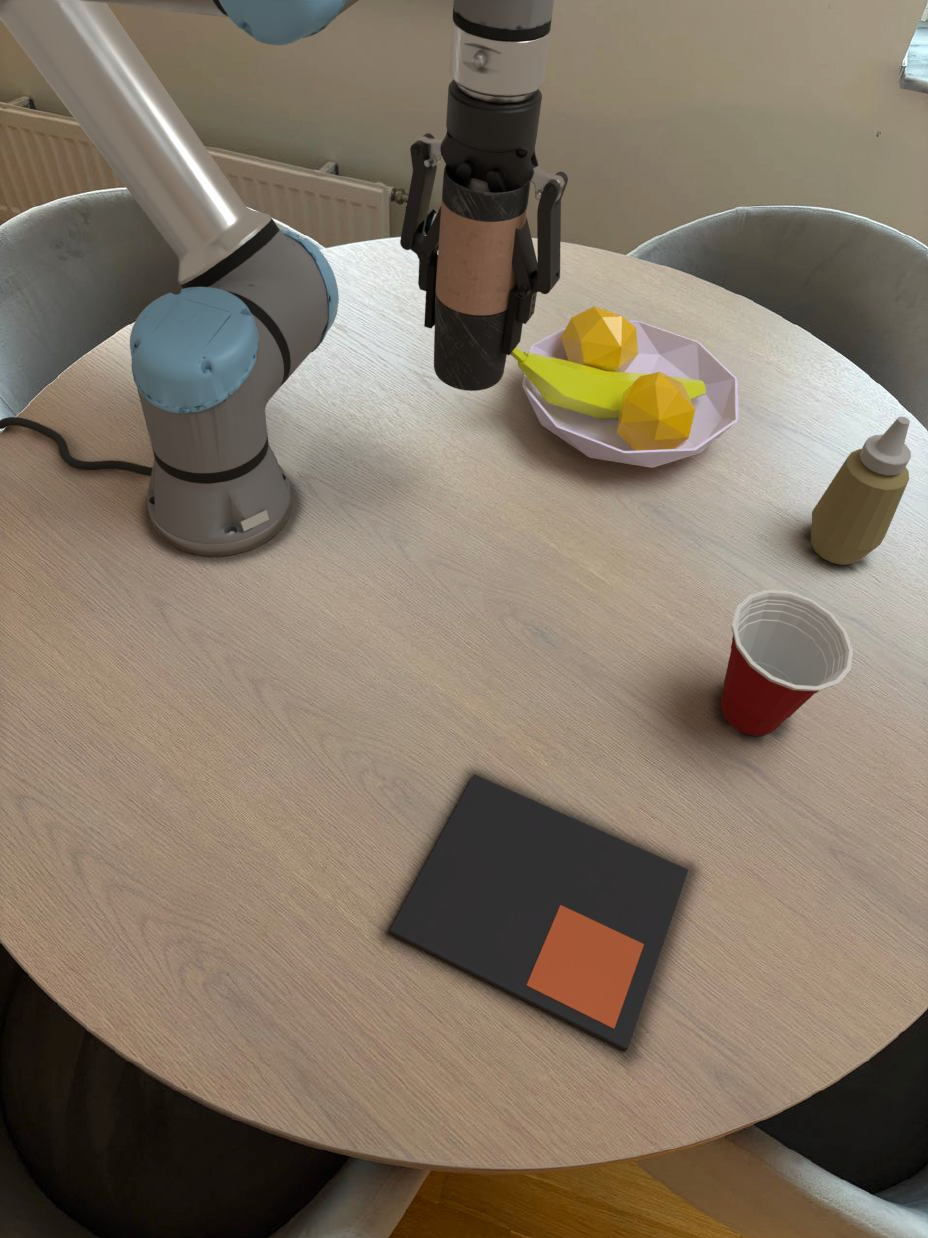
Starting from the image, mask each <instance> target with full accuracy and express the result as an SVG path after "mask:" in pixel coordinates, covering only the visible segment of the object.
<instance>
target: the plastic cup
mask: <svg viewBox="0 0 928 1238" xmlns="http://www.w3.org/2000/svg"><path fill="white" fill-rule="evenodd" d="M731 632H732V639H731V645H730V653H729V658H728V663H727V666H726V672H725V676H724V681H723V690H722V695H721V699H720V707H721V711H722V714H723V717H724V718H725V720H726V722H727V723H728V724H729V725H730V726H731V727H733V728H734V729H736V730H737V731H739V732H741V733H743V734H746V735H749V736H765V735H768V734H770V733H773V732H774V731H776V730H777V729H778V728H779V727H780V726H781V725H782V724H783V723H784V722H785V721H786V720H788V719H789V718H791V717H792V716H793V714H795V713H796V712H797V711H798V710H799V709H801V707H802V706H803V705H804V704H805V703H806V702H808V701H809V699H811V698H812V697H813V696H814V695H815V694H818V693H819V692H820V691H822V690H825V689H827V688H830V687H834V686H836V685H838V684H839V683H840V682H841V681H842V680H843V679H844V678H845V677H846V676H847V674H848V673H849V672H850V671H851V669H852V663H853V655H854V649H853V646H852V644H851V641H850V638H849V634H848V632H847V630H846V629H845V628H844V627H843V625H842V624H841V623H840V622H839V620H838V618H836V616H835V615H834V614H833V613H832V612H830V611H829V610H828V609H826V608H825V607H824V606H822V605H820V604H819V603H818V602H817V601H815V600H814V599H812V598H810V597H806V596H804V595H801V594H798V593H795V592H794V591H790V590H777V589H765V590H762V591H759V592H755V593H752V594H749V595H748V596H746V597H745V598H744V600H742V601H741V602H740V603H739V604H738V605H737V607H736V608H735V612H734V616H733V620H732V624H731Z"/></svg>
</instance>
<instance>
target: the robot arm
mask: <svg viewBox="0 0 928 1238" xmlns="http://www.w3.org/2000/svg"><path fill="white" fill-rule="evenodd" d="M359 1H360V0H0V21H1V23H2V24H3V25H4V26H5V28H6V29H7V30H8V31H9V33H10V34H11V36H12V37H13V38H14V40H15V41H16V42H17V44H18V45H19V47H20V48H21V49H22V50H23V52H24V53H25V55H26V56H27V57H28V58H29V60H30V61H31V62H32V64H33V65H34V67H35V68H36V69H37V70H38V72H39V73H40V74H41V76H42V77H43V79H44V80H45V81H46V83H47V84H48V86H50V88H51V90H53V92H54V93H55V95H56V96H57V97H58V99H59V100H60V102H62V104H63V105H64V107H65V108H66V109H67V111H68V112H69V113H70V115H71V116H72V117H73V119H74V120H75V121H76V123H77V124H78V125H79V127H80V128H81V129H82V131H83V132H84V134H85V135H86V136H87V137H88V139H89V140H90V142H91V143H92V144H93V145H94V146H95V148H96V149H97V151H98V152H99V154H100V155H101V156H102V157H103V159H104V161H106V163H107V164H108V166H109V167H110V168H111V170H113V173H114V174H115V175H116V176H117V178H118V180H120V181H121V183H122V184H123V186H124V187H125V188H126V190H127V191H128V192H129V194H130V195H131V196H132V197H133V199H134V201H135V202H136V203H137V205H139V207H140V208H141V209H142V211H143V212H144V214H145V215H146V216H147V218H148V219H149V221H150V222H151V223H152V224H153V226H154V227H155V228H156V230H157V231H158V233H159V234H160V235H161V236H162V238H163V240H165V242H166V243H167V244H168V246H169V248H171V250H172V251H173V253H174V254H175V255H176V257H177V260H178V274H177V283H178V284H179V285H180V286H181V290H180V292H179V293H178V294H174V293H173V292H167V293H166V294H163V295H162V296H159V297H158V298H156V299H155V300H153V301H152V302H151V303H149V304H148V305H147V306H146V307H145V308H144V309H143V310H142V311H141V312H140V313H139V315H138V316H137V317H136V319H135V321H134V323H133V325H132V327H131V331H130V336H129V350H130V351H129V352H130V356H131V364H130V365H131V366H130V367H131V373H132V377H133V381H134V384H135V386H136V389H137V393H138V396H139V397H138V398H139V400H140V405H141V408H142V413H143V417H144V421H145V426H146V429H147V433H148V439H149V442H150V446H151V449H152V453H153V462H152V463H153V464H152V467H151V466H146V465H142V464H137V463H134V462H129V461H126V460H125V461H124V460H113V459H112V460H93V461H91V460H90V461H89V460H80V459H78V458H76V457H73V456H72V455H71V454H70V451H69V448H68V444H67V442H66V440H65V438H64V437H63V436H62V435H61V434H60V433H59V432H57V431H55V430H54V429H52V428H50V427H48V426H46V425H44V424H42V423H39V422H38V421H34V420H32V419H28V418H23V417H18V416H9V417H4V418H2V419H0V430H3V429H6V428H8V427H12V426H13V427H14V426H15V427H22V428H25V429H29V430H31V431H34V432H37V433H39V434H42V435H43V436H45V437H47V438H49V439H50V440H52V441H54V442H55V444H56V445H57V448H58V453H59V455H60V458H61V459H62V461H63V462H64V463H65V464H67V465H68V466H70V467H71V468H74V469H78V470H84V471H102V470H120V471H126V472H130V473H135V474H138V475H143V476H146V477H150V480H149V485H148V489H147V496H146V504H147V511H148V514H149V518H150V522H151V524H152V526H153V528H154V530H155V532H156V533H157V534H158V535H159V537H160V538H162V539H163V540H164V541H165V542H166V543H168V544H170V545H171V546H173V547H174V548H176V549H179V550H180V551H184V552H187V553H189V554H195V555H200V556H209V557H215V556H217V557H218V556H221V557H222V556H230V555H236V554H240V553H245V552H247V551H251V550H253V549H256V548H258V547H259V546H261V545H264V544H266V543H267V542H268V541H270V540H271V539H272V538H274V537H275V536H276V535H277V534H278V533H279V532H280V531H281V530H282V529H283V528H284V526H285V525H286V523H287V522H288V520H289V518H290V516H291V512H292V508H293V497H292V489H291V483H290V481H289V478H288V476H287V474H286V472H285V470H284V469H283V468H282V466H281V465H280V464H279V462H278V459H277V457H276V455H275V453H274V451H273V449H272V447H271V445H270V443H269V436H268V435H269V434H268V427H267V417H266V416H267V415H266V408H267V405H268V402H269V401H270V400H272V398H273V397H274V395H275V394H276V393H277V392H278V391H279V389H280V388H281V387H282V386H283V385H284V384H285V383H286V382H287V381H288V379H289V378H290V377H291V376H292V375H293V374H294V372H296V370H297V369H298V368H299V367H300V365H302V363H303V362H304V361H305V360H306V359H307V358H308V356H309V355H310V354H311V353H314V352H315V351H317V349H318V348H319V346H320V345H321V344H322V343H323V341H324V339H325V338H326V336H327V333H328V332H329V330H331V327H333V324H334V323H335V320H336V317H337V315H338V308H339V302H340V298H339V297H340V296H339V288H338V283H337V279H336V276H335V273H334V271H333V268H332V267H331V265H330V263H329V261H328V259H327V258H326V257H325V255H324V253H323V252H322V251H321V250H320V249H319V248H318V247H317V246H316V245H315V244H314V243H313V242H312V241H311V240H309V239H307V238H301V237H300V236H299V234H298V233H296V232H294V231H290V230H281V229H280V227H278V225H277V224H276V222H275V220H274V219H273V217H272V216H271V214H270V213H265V212H261V211H257V210H253V209H250V208H249V207H247V206H246V205H245V203H244V201H243V200H242V198H241V197H240V196H239V194H238V192H237V191H236V190H235V189H234V187H233V186H232V184H231V183H230V181H229V180H228V178H227V177H226V175H225V174H224V172H223V171H222V169H221V168H220V167H219V165H218V164H217V162H216V160H215V159H214V157H213V156H212V155H211V153H210V152H209V150H208V149H207V148H206V146H205V145H204V143H203V142H202V140H201V139H200V138H199V135H197V133H196V131H195V130H194V129H193V128H192V126H191V124H190V122H189V121H188V120H187V118H186V117H185V116H184V114H183V113H182V111H181V110H180V108H179V106H178V105H177V104H176V102H175V101H174V99H173V98H172V97H171V95H170V94H169V92H168V91H167V89H166V88H165V87H164V85H163V84H162V82H161V81H160V79H159V78H158V76H157V75H156V73H155V72H154V71H153V69H152V68H151V66H150V65H149V63H148V62H147V60H146V59H145V57H144V56H143V55H142V53H141V52H140V50H139V49H138V46H137V45H136V44H135V42H134V41H133V40H132V39H131V37H130V36H129V34H128V32H127V31H126V30H125V28H124V27H123V25H122V24H121V22H120V21H119V20H118V18H117V17H116V15H115V14H114V12H113V11H112V9H111V8H110V6H109V5H117V6H126V7H135V8H142V9H153V10H161V11H168V12H170V11H171V12H177V13H178V12H179V13H184V14H185V13H186V14H194V15H202V16H203V15H204V16H213V17H219V18H220V17H221V18H229V19H230V20H231V22H233V23H234V25H236V27H237V28H239V29H241V30H242V31H244V32H245V34H247V35H249V36H250V37H252V38H253V39H254V40H255V41H257V42H259V43H262V44H265V45H269V46H270V45H271V46H286V45H290V44H293V43H295V42H297V41H299V40H301V39H304V38H308V37H312V36H314V35H316V34H318V33H320V32H321V31H323V30H325V28H327V27H328V26H329V25H330V24H331V23H332V22H333V21H334V20H335V19H336V18H337V17H338V16H340V15H341V14H343V13H344V12H345V11H347V10H348V9H349V8H351V7H352V6H353V5H355V4H356V3H357V2H359ZM554 3H555V0H453V5H452V30H451V43H450V59H449V76H450V77H451V78H452V80H451V82H449V84H448V88H447V104H446V121H445V127H446V133H445V136H444V138H443V139H442V138H435V136H434V135H433V134H432V133H430V132H427V133H424V134H423V135H422V136H421V137H420V138H418V139H417V140H416V141H415V142H413V144H411V145H410V147H409V149H410V150H409V151H410V157H411V158H410V159H411V166H412V175H411V180H410V185H409V189H408V190H409V191H408V196H407V200H406V201H407V202H406V207H405V212H404V218H403V224H402V229H401V234H400V241H399V243H400V246H401V248H402V249H403V250H405V251H412V252H413V253H414V254H416V256H417V258H418V278H417V279H418V280H417V285H418V289H419V290H421V291H424V292H425V305H424V324H423V327H424V328H427V329H433V328H434V327H435V292H436V276H437V261H438V247H439V233H440V218H441V206H440V207H439V208H438V211H437V213H436V215H435V217H434V219H433V221H432V222H431V225H430V226H429V229H428V231H427V233H426V234H425V229H426V228H425V227H426V224H427V219H428V215H429V209H430V205H431V199H432V195H433V189H434V185H435V180H436V175H437V169H438V164H440V162H441V160H442V159H443V162H444V164H445V166H446V165H447V167H448V169H449V172H450V174H451V176H452V178H453V180H452V181H453V182H455V183H456V184H458V185H461V186H464V187H465V186H466V185H468V183H469V181H470V179H471V178H474V179H478V180H482V181H485V182H487V184H488V188H489V191H490V192H491V193H503V192H510V191H514V190H517V189H519V188H521V187H524V186H525V185H526V184H527V183H528V182H529V181H531V182H530V183H532V184H533V186H534V194H535V196H534V198H535V200H537V201H538V205H537V211H536V213H537V214H536V223H537V224H536V229H537V232H536V234H537V235H536V236H537V237H536V239H537V241H536V243H537V246H536V247H537V248H536V249H537V252H536V251H535V250H536V249H535V247H534V241H533V237H532V233H531V230H530V224H529V220H528V217H527V215H526V221H525V224H524V226H523V228H522V229H517V228H516V230H515V239H514V248H513V256H512V265H513V269H514V273H515V277H516V281H517V284H516V285H515V286H514V288H513V289H512V290H511V291H510V295H509V303H508V311H507V319H506V327H505V335H504V343H503V351H502V353H504V354H507V356H511V355H510V354H511V353H512V351H513V350H514V349H515V348H516V347H517V346H518V345H519V344H520V343H521V339H522V333H523V326H524V325H527V323H528V322H529V321H530V320H531V318H532V317H533V316H534V314H535V309H536V308H535V307H536V302H537V297H538V293H541V294H543V295H548V294H549V293H550V292H551V291H552V290H553V289H554V287H555V286H556V284H557V283H558V282H559V280H560V279H561V242H562V241H561V240H562V239H561V236H562V234H561V233H562V231H561V230H562V229H561V227H562V223H561V222H562V198H563V196H564V193H565V190H566V187H567V185H568V183H569V178H568V175H567V174H566V173H565V172H564V171H558V172H556V173H552V172H550V171H548V170H546V169H545V168H542V167H541V166H539V160H538V158H537V154H536V143H537V138H538V131H539V124H540V123H539V122H540V116H541V108H542V100H543V94H542V92H541V90H540V89H541V88H542V87H543V85H544V84H545V78H546V71H547V64H548V63H547V62H548V55H549V45H550V39H551V38H550V37H551V27H552V20H553V11H554V10H553V9H554ZM536 253H537V254H536ZM523 324H524V325H523Z"/></svg>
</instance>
